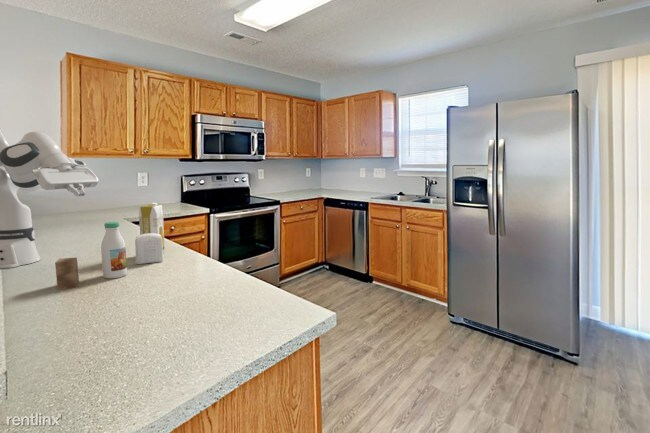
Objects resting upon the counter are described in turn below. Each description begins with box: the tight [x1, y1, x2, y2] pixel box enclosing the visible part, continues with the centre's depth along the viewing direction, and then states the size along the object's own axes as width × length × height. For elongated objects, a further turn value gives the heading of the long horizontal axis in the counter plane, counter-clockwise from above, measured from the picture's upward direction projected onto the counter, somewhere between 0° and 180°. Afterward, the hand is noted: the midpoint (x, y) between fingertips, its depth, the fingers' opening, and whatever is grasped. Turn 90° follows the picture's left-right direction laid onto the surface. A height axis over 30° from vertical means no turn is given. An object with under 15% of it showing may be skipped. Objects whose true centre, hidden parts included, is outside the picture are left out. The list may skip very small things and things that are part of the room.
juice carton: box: [138, 202, 165, 255], centre depth 156 cm, size 9×8×24 cm
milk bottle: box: [100, 221, 128, 279], centre depth 128 cm, size 8×8×20 cm
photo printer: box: [134, 233, 164, 265], centre depth 147 cm, size 10×4×12 cm, turn 123°
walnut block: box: [54, 257, 80, 290], centre depth 118 cm, size 5×5×9 cm
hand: (81, 195), depth 129 cm, fingers closed
